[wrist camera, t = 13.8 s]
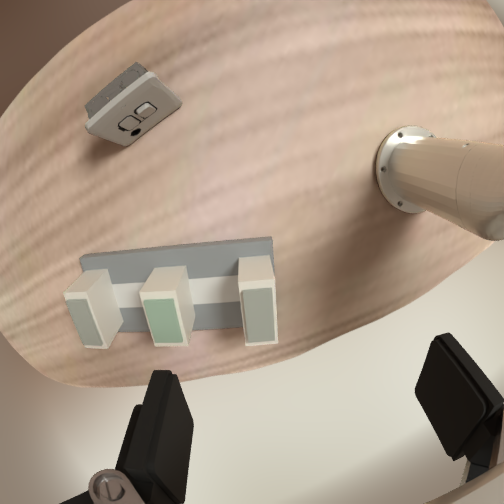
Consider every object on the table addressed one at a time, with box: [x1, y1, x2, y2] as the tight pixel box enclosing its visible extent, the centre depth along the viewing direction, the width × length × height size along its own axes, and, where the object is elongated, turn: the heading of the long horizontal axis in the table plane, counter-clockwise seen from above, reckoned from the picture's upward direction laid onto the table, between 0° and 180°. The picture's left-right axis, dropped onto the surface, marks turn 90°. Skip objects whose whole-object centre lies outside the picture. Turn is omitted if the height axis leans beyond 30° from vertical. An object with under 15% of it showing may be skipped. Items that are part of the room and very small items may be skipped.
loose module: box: [139, 265, 195, 346], centre depth 37 cm, size 4×8×8 cm, turn 4°
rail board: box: [80, 237, 275, 332], centre depth 41 cm, size 28×13×2 cm, turn 95°
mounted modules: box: [63, 255, 278, 349], centre depth 37 cm, size 27×9×8 cm, turn 95°
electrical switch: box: [85, 62, 182, 146], centre depth 28 cm, size 9×5×9 cm, turn 122°
